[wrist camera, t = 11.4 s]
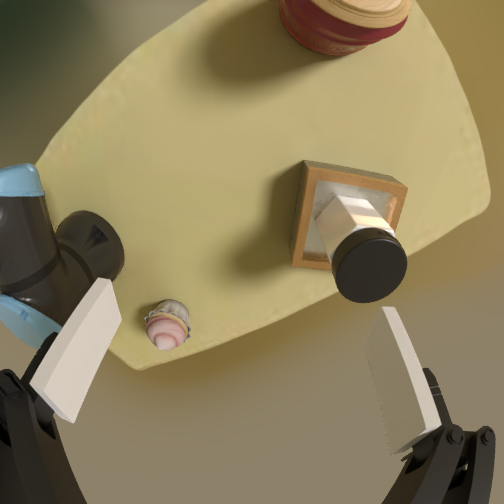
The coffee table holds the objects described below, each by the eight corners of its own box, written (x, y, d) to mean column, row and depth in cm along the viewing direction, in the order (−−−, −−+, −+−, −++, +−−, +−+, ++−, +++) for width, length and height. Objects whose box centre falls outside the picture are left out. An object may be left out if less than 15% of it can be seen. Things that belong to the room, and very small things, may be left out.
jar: (378, 239, 37) (411, 290, 27) (328, 258, 39) (346, 315, 29) (363, 184, 33) (402, 222, 23) (307, 205, 35) (325, 253, 25)
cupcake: (142, 303, 52) (125, 339, 43) (173, 285, 49) (157, 324, 40) (173, 332, 55) (161, 369, 47) (205, 318, 52) (196, 357, 44)
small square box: (288, 251, 44) (290, 271, 39) (303, 159, 36) (309, 169, 31) (368, 259, 44) (378, 278, 39) (391, 176, 36) (407, 187, 31)
